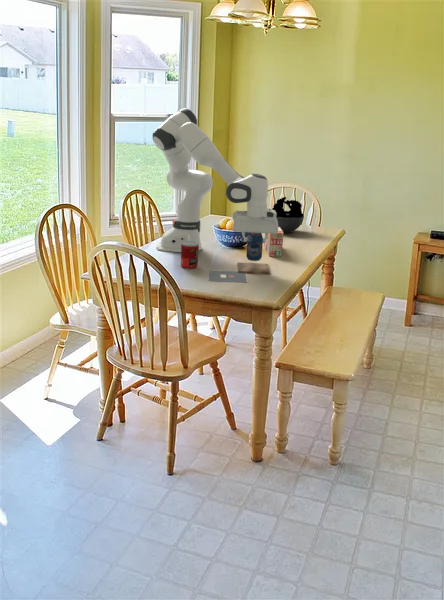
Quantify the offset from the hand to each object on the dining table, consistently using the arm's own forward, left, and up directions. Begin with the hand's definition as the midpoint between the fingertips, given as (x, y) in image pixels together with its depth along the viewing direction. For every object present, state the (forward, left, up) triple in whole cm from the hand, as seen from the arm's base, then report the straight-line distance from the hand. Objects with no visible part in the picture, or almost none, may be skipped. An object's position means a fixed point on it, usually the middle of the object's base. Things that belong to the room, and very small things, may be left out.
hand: (254, 242), depth 304 cm
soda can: (0, 0, -8) cm, 8 cm away
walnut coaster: (0, 0, -13) cm, 13 cm away
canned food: (-29, 0, -13) cm, 31 cm away
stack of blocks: (+12, +35, -13) cm, 39 cm away
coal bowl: (+22, +79, -13) cm, 83 cm away
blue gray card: (-12, -13, -13) cm, 21 cm away
